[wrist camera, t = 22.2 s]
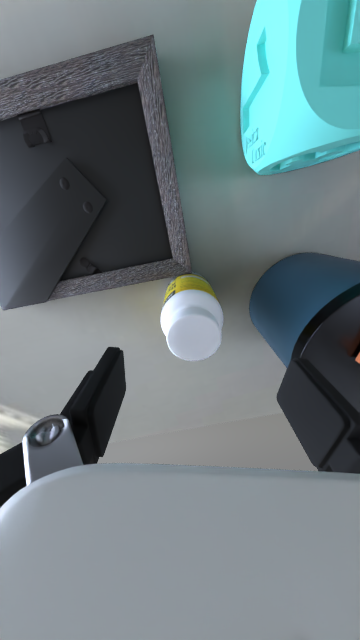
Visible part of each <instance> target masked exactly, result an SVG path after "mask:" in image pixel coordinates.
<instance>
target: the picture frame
mask: <svg viewBox="0 0 360 640" xmlns="http://www.w3.org/2000/svg"><path fill="white" fill-rule="evenodd" d="M189 273H192V269H191V263H190V256H189V250H188V244H187V238H186V232H185V226H184V220H183V214H182V207H181V201H180V195H179V189H178V183H177V177H176V171H175V164H174V158H173V152H172V146H171V140H170V134H169V128H168V122H167V115H166V109H165V103H164V97H163V91H162V85H161V79H160V72H159V66H158V60H157V54H156V48H155V42H154V36H153V35H150V36H147V37H144V38H140V39H137V40H133V41H130V42H127V43H123V44H120V45H117V46H113V47H110V48H106V49H103V50H100V51H96V52H93V53H90V54H86V55H83V56H79V57H76V58H73V59H69V60H66V61H63V62H59V63H56V64H52V65H49V66H46V67H42V68H39V69H36V70H32V71H29V72H26V73H22V74H19V75H15V76H12V77H9V78H5V79H2V80H0V306H1V307H2V309H3V310H8V309H13V308H18V307H23V306H28V305H34V304H39V303H44V302H47V301H50V300H55V299H60V298H65V297H70V296H75V295H81V294H86V293H91V292H96V291H101V290H106V289H112V288H117V287H122V286H127V285H132V284H137V283H142V282H148V281H153V280H158V279H163V278H168V277H173V276H179V275H184V274H189Z"/></svg>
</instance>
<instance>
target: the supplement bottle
mask: <svg viewBox="0 0 360 640" xmlns="http://www.w3.org/2000/svg"><path fill="white" fill-rule="evenodd" d="M223 321H224V317H223V311H222V308H221V306H220V303H219V301H218V299H217V298H216V295H215V293H214V291H213V289H212V287H211V285H210V284H209V282H208V281H207V280H206V279H205V278H204V277H203V276H201V275H199V274H196V273H189V274H184V275H179V276H176V277H175V278H174V279H173V280H172V281H171V282H170V283H169V285H168V287H167V290H166V294H165V299H164V303H163V308H162V312H161V326H162V330H163V332H164V334H165V335H166V339H167V344H168V347H169V349H170V350H171V352H172V353H173V354H174V355H176V356H177V357H179V358H181V359H184V360H188V361H199V360H203V359H206V358H208V357H210V356H211V355H212V354H214V353H215V352H216V351H217V349H218V348H219V346H220V343H221V339H222V334H221V329H222V326H223Z"/></svg>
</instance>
